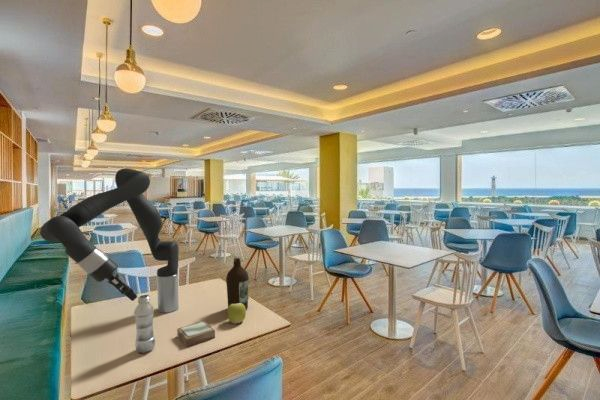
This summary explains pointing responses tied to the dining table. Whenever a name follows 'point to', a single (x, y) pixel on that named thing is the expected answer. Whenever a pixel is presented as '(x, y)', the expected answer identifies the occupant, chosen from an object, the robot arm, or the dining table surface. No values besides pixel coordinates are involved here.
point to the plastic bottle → (144, 325)
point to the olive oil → (237, 284)
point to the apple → (236, 313)
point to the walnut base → (195, 333)
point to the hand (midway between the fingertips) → (133, 295)
